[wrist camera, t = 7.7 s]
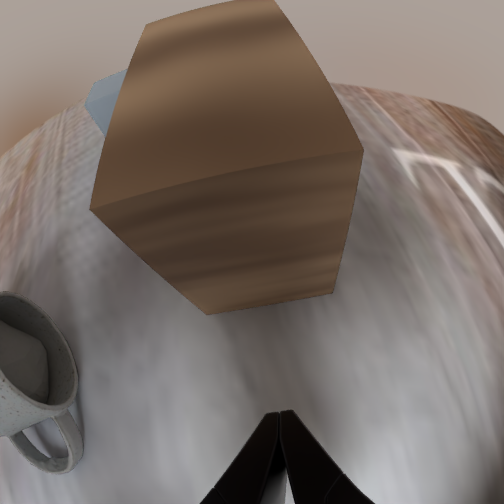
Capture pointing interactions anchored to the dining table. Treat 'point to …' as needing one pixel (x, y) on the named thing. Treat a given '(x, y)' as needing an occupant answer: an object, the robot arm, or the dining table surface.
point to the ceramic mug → (36, 381)
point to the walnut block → (230, 159)
